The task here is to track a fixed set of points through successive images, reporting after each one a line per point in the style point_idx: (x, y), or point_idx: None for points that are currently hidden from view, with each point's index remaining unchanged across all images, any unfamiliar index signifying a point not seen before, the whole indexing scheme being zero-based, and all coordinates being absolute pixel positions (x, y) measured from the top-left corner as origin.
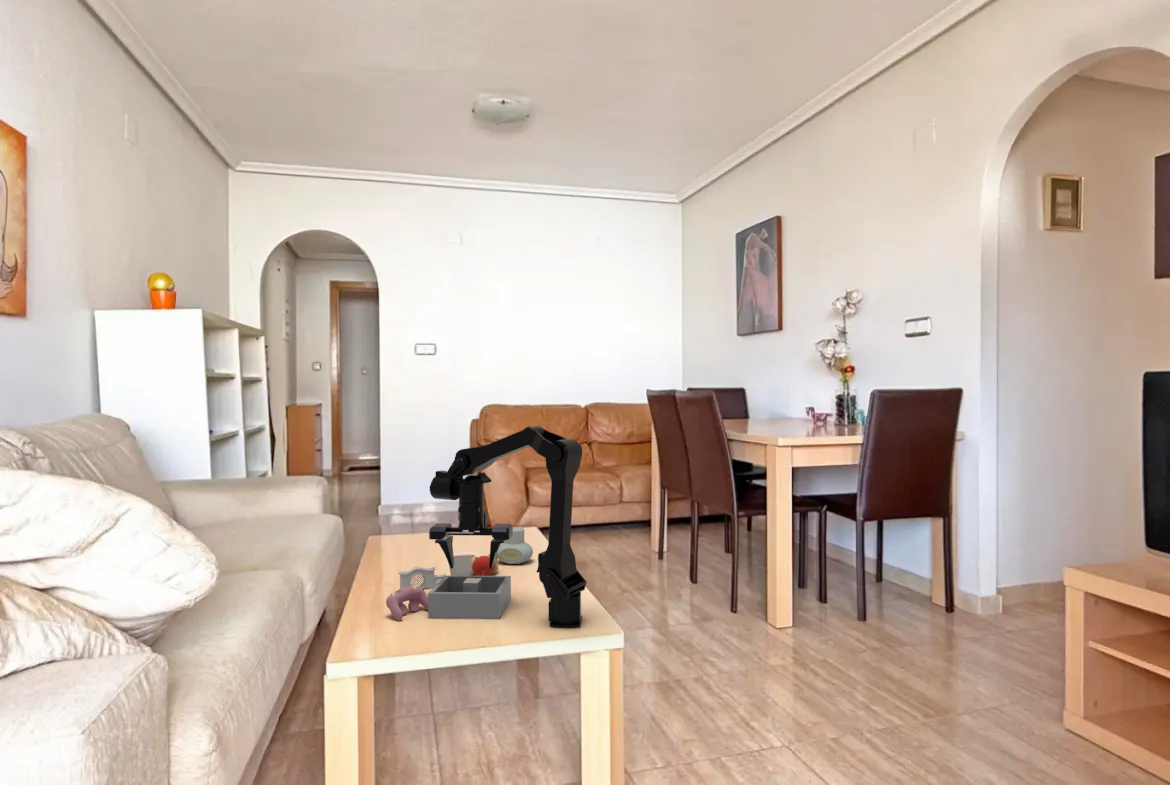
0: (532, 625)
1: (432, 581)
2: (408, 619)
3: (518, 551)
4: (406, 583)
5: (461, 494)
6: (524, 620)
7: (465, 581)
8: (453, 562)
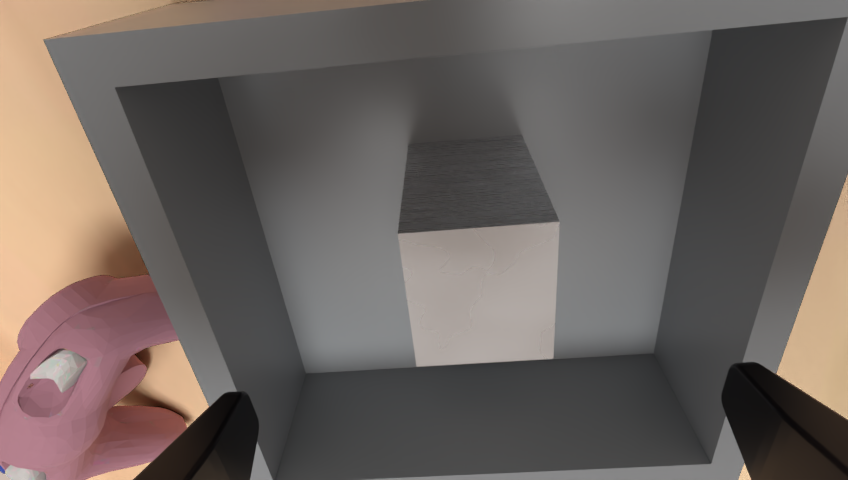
0: (838, 412)
1: None
2: (204, 400)
3: None
4: None
5: None
6: (807, 363)
7: (423, 330)
8: (226, 445)
